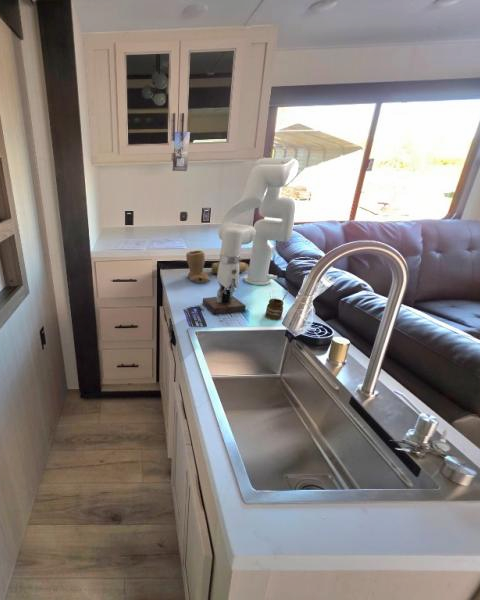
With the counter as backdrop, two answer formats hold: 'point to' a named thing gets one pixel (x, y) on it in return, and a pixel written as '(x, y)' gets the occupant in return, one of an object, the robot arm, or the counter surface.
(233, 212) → the robot arm
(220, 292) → the nozzle knob
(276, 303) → the utensil holder
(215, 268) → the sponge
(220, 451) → the counter surface
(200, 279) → the tan fabric boot shape
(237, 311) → the brown flat wooden block
